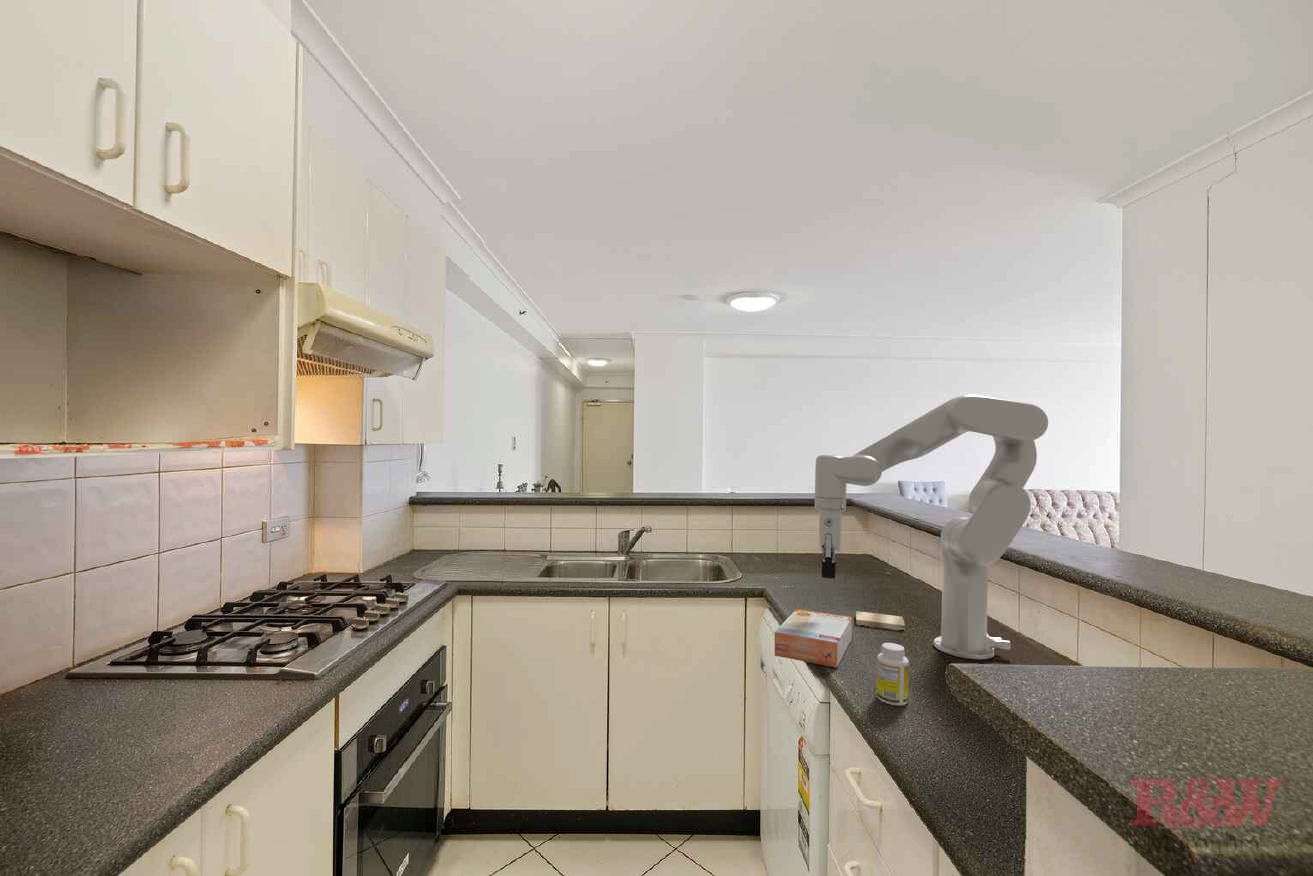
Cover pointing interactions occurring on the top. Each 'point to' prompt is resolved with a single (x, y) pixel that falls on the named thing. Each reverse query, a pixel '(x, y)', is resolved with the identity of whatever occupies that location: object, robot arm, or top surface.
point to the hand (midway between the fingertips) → (828, 577)
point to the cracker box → (814, 637)
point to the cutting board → (880, 620)
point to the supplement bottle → (892, 675)
